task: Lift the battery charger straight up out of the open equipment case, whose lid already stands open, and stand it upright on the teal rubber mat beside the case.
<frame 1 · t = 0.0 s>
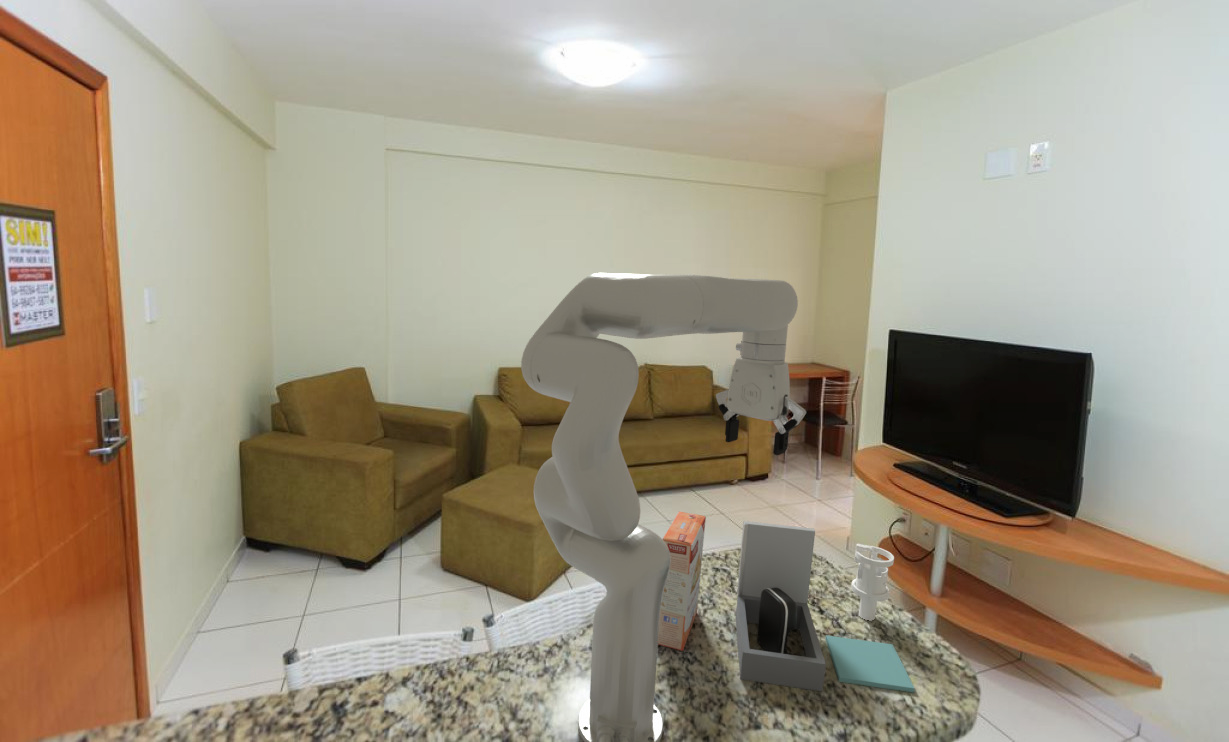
hand: (754, 447, 103), 37 cm above the granite counter, tool pointing down, fingers open, 9 cm apart
mat: (866, 664, 103), on the granite counter
equipment case: (774, 651, 105), on the granite counter
cracker box: (677, 628, 111), on the granite counter
battery charger: (774, 652, 105), resting in equipment case
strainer: (866, 617, 118), on the granite counter
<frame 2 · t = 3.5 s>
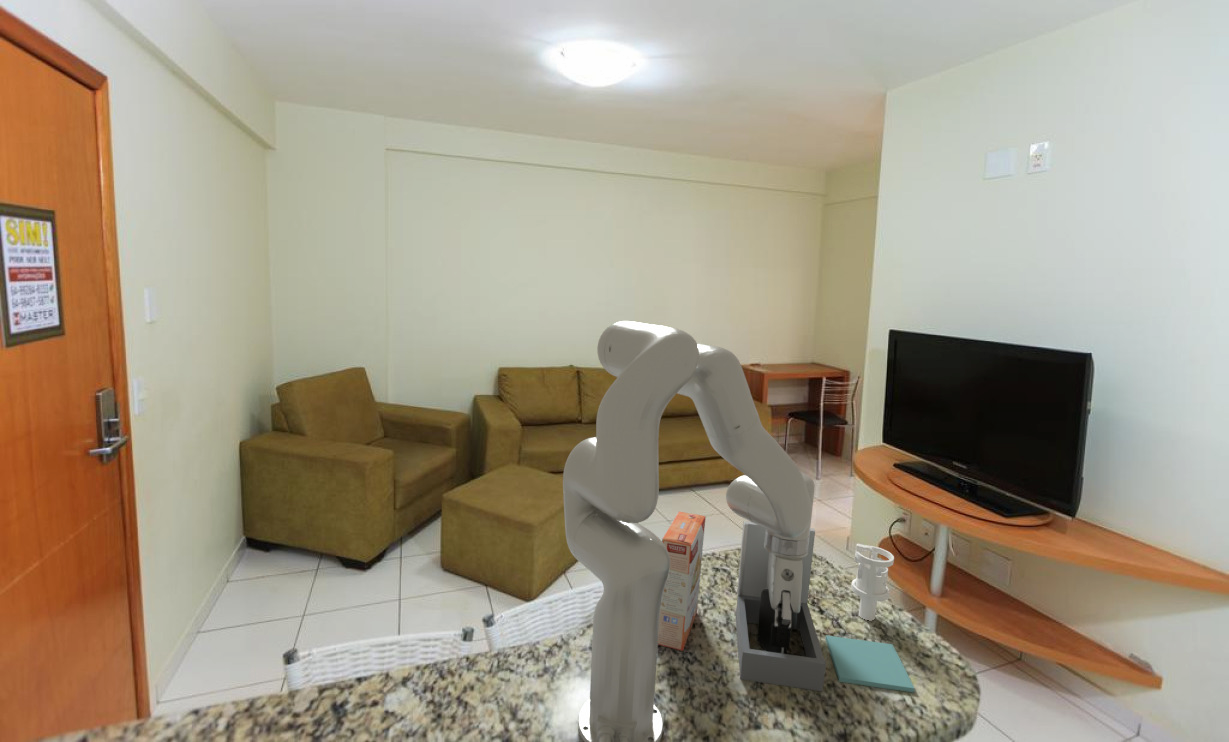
hand: (777, 631, 105), 4 cm above the granite counter, tool pointing down, fingers closed on battery charger, 7 cm apart
battery charger: (774, 651, 105), resting in equipment case, touching gripper
everything else where it was.
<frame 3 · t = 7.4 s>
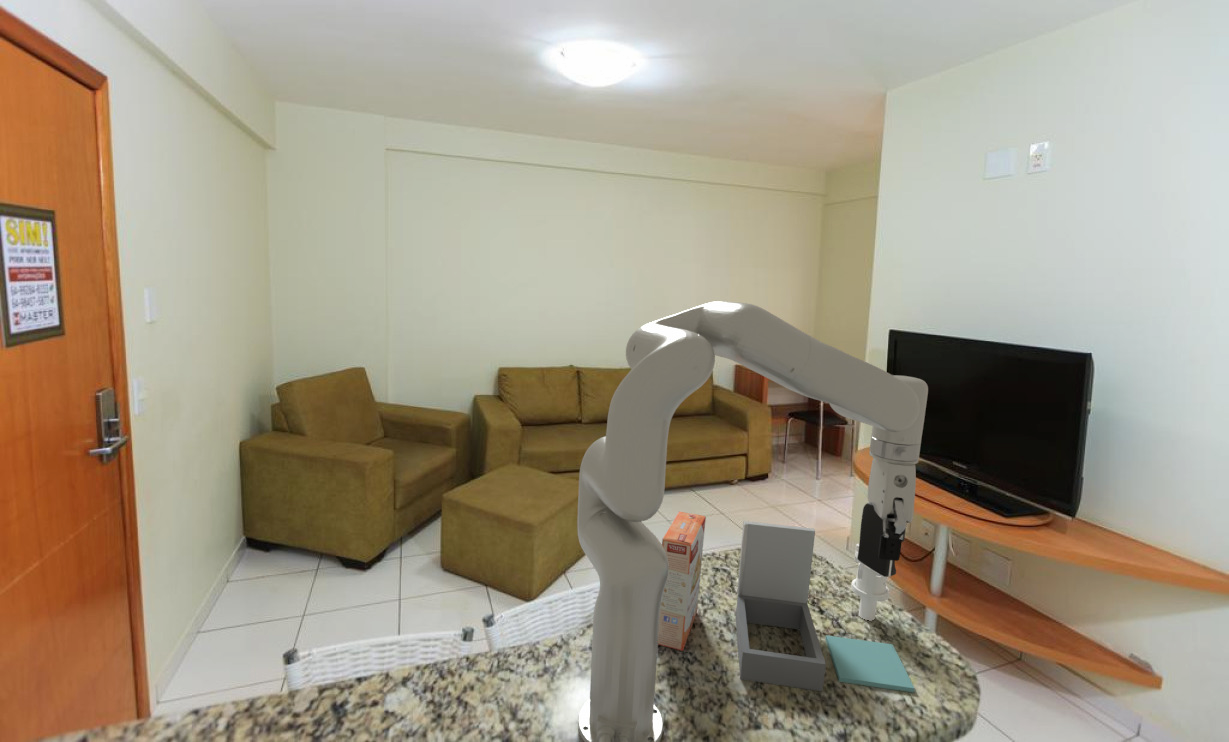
hand: (881, 547, 99), 22 cm above the granite counter, tool pointing down, fingers closed on battery charger, 7 cm apart
battery charger: (878, 569, 100), point 18 cm above the granite counter, touching gripper
everything else where it was.
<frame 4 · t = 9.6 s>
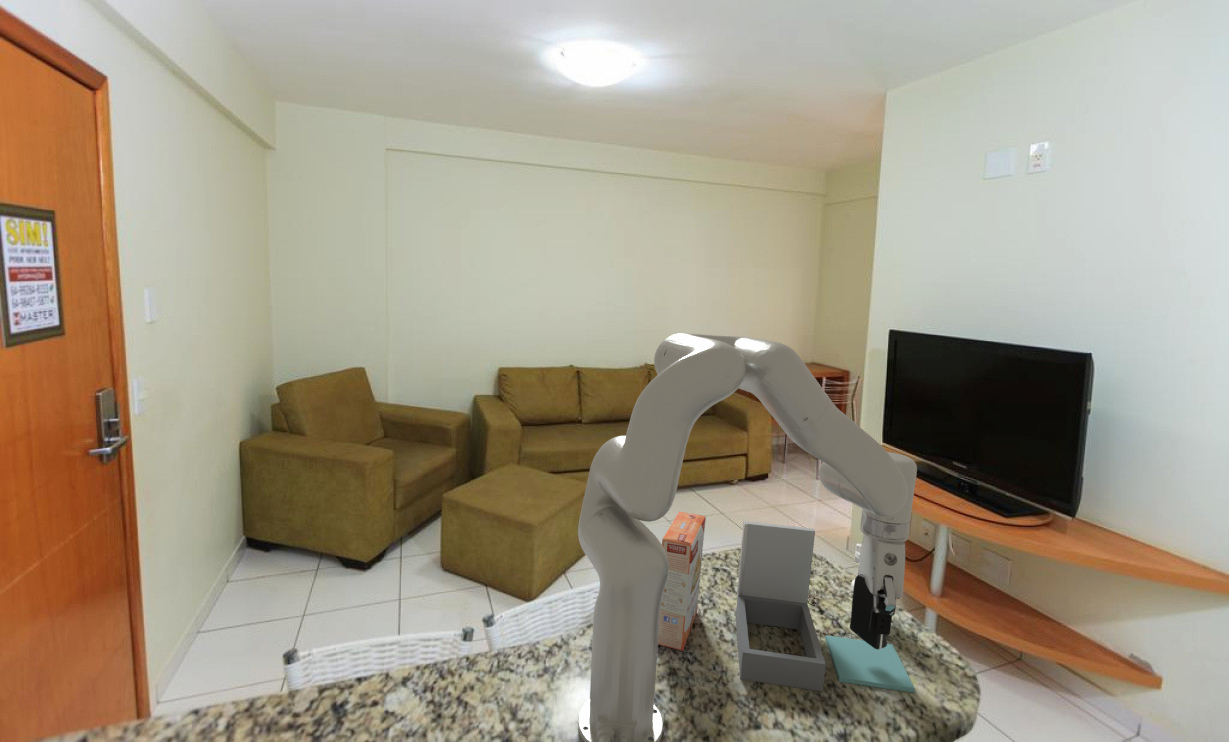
hand: (872, 618, 101), 9 cm above the granite counter, tool pointing down, fingers closed on battery charger, 7 cm apart
battery charger: (870, 639, 102), point 5 cm above the granite counter, touching gripper
everything else where it was.
when the fingers open (6 cm above the granite counter, at t = 11.4 s): battery charger stays where it is, resting on mat.
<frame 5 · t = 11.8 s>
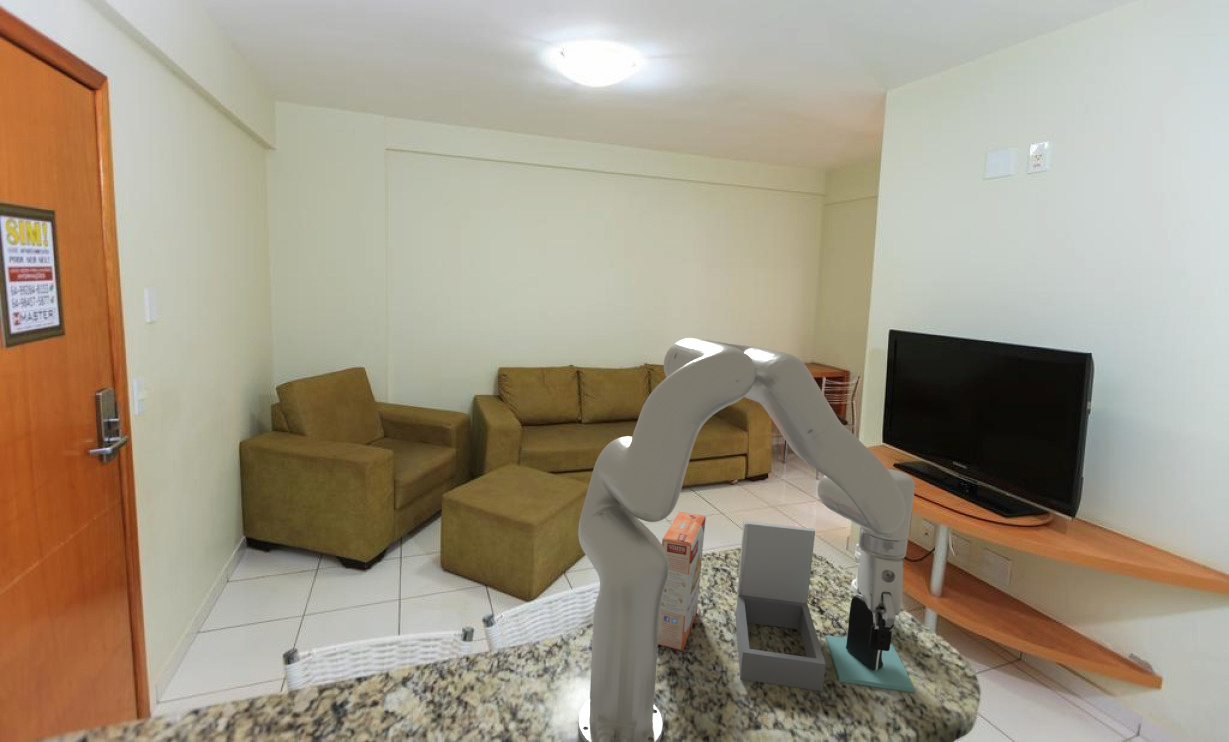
hand: (871, 631, 102), 6 cm above the granite counter, tool pointing down, fingers open, 9 cm apart
battery charger: (866, 659, 103), point 1 cm above the granite counter, touching mat
everything else where it was.
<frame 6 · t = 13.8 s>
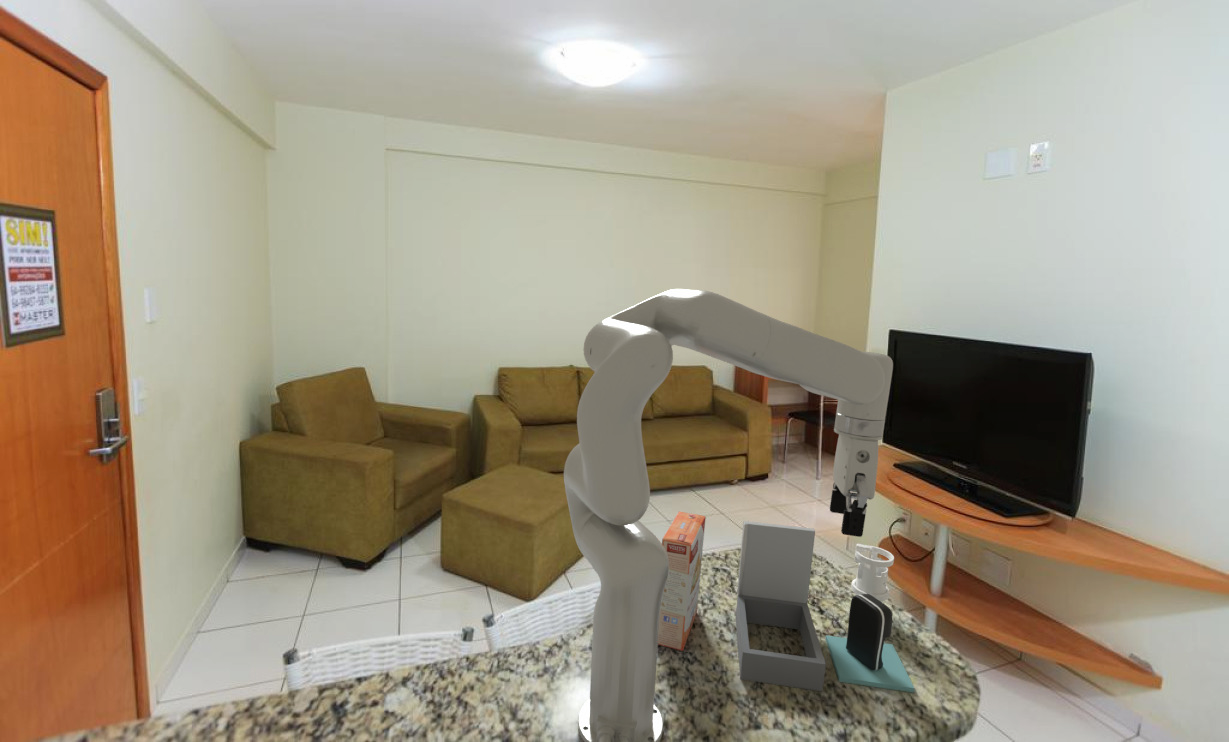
hand: (844, 523, 98), 27 cm above the granite counter, tool pointing down, fingers open, 9 cm apart
nothing on the granite counter moved.
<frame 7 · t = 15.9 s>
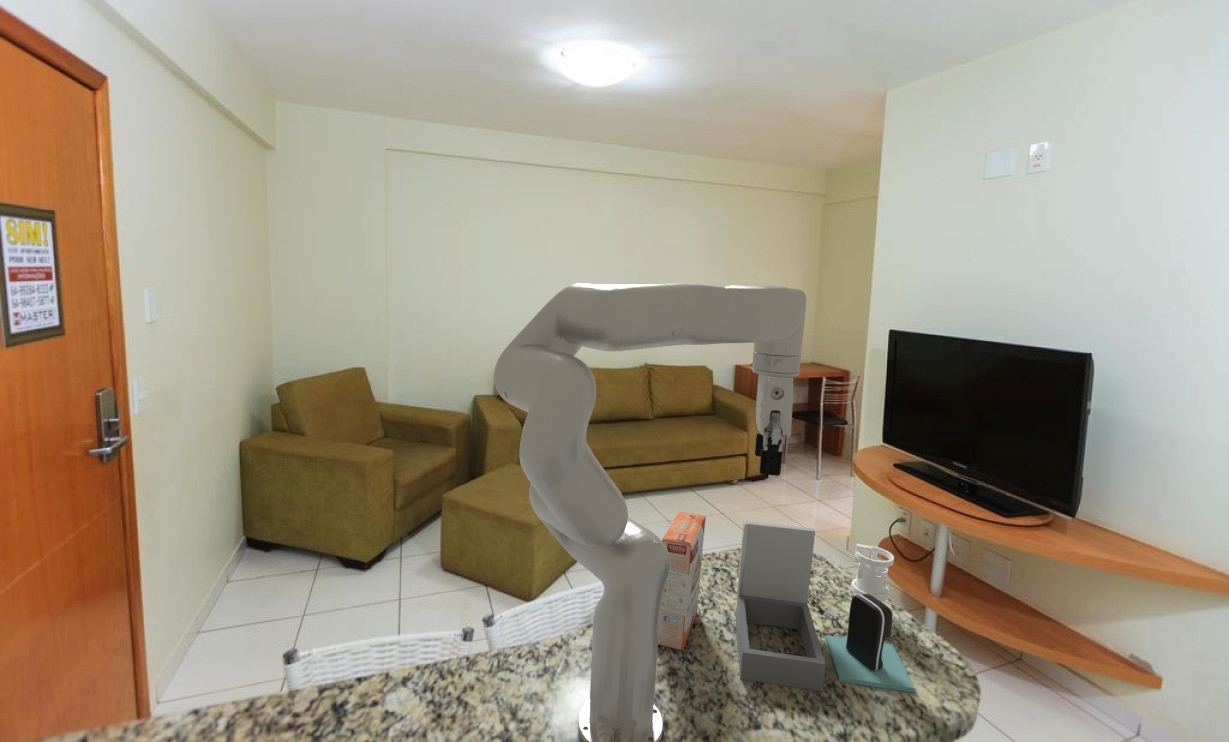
hand: (766, 464, 96), 36 cm above the granite counter, tool pointing down, fingers open, 9 cm apart
nothing on the granite counter moved.
at the end: battery charger inside the target area on the mat (0.3 cm from its centre), point 0.6 cm above the mat's base; battery charger tilted 0°; the gripper is holding nothing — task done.
